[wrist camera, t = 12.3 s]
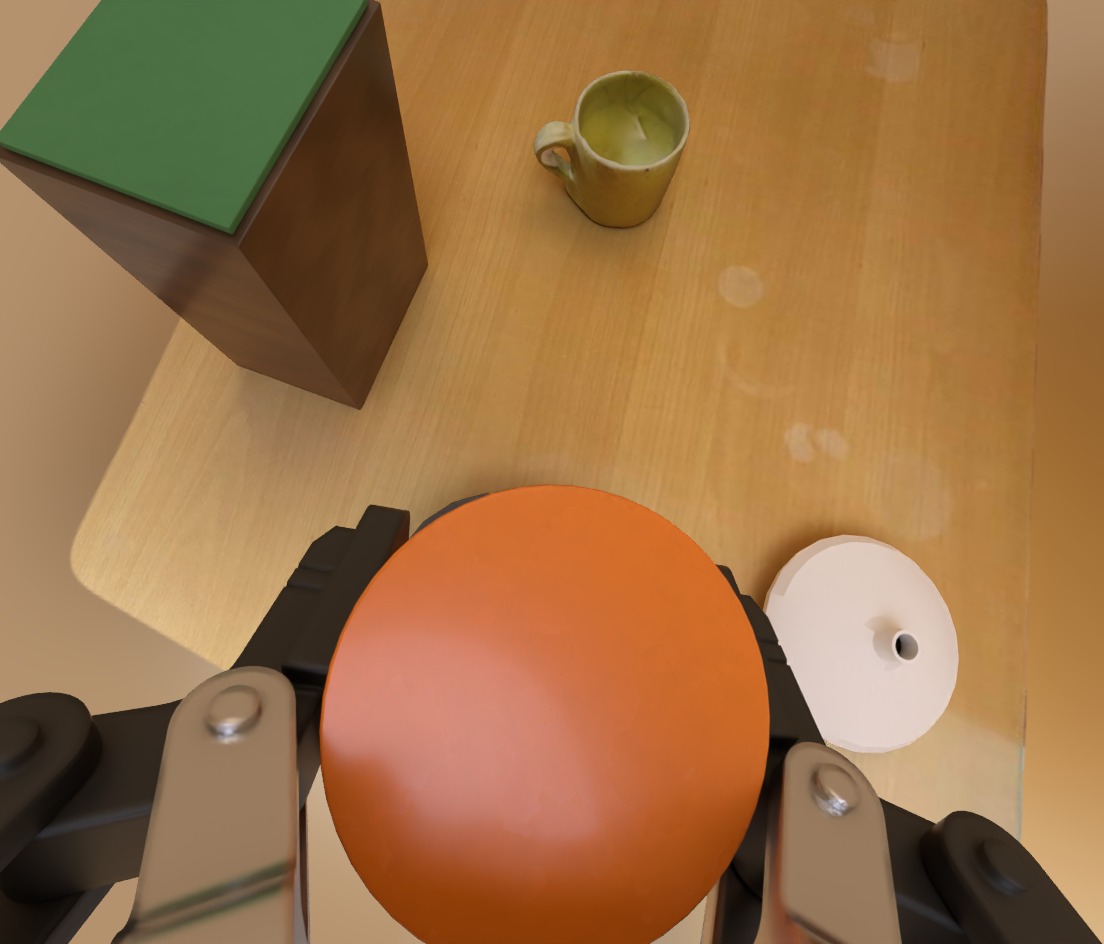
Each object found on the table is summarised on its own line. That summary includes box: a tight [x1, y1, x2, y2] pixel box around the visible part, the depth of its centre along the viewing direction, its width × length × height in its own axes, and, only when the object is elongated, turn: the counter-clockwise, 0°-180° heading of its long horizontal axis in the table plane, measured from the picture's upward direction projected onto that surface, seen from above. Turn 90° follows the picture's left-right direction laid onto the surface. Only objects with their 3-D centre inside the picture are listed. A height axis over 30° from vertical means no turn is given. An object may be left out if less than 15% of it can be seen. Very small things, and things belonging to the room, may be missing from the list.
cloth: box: [0, 0, 368, 234], centre depth 21 cm, size 13×9×1 cm
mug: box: [534, 70, 690, 228], centre depth 43 cm, size 12×10×10 cm
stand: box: [0, 0, 428, 410], centre depth 31 cm, size 14×10×20 cm
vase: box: [763, 535, 959, 753], centre depth 37 cm, size 16×16×7 cm
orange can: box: [319, 485, 770, 944], centre depth 10 cm, size 6×6×9 cm
